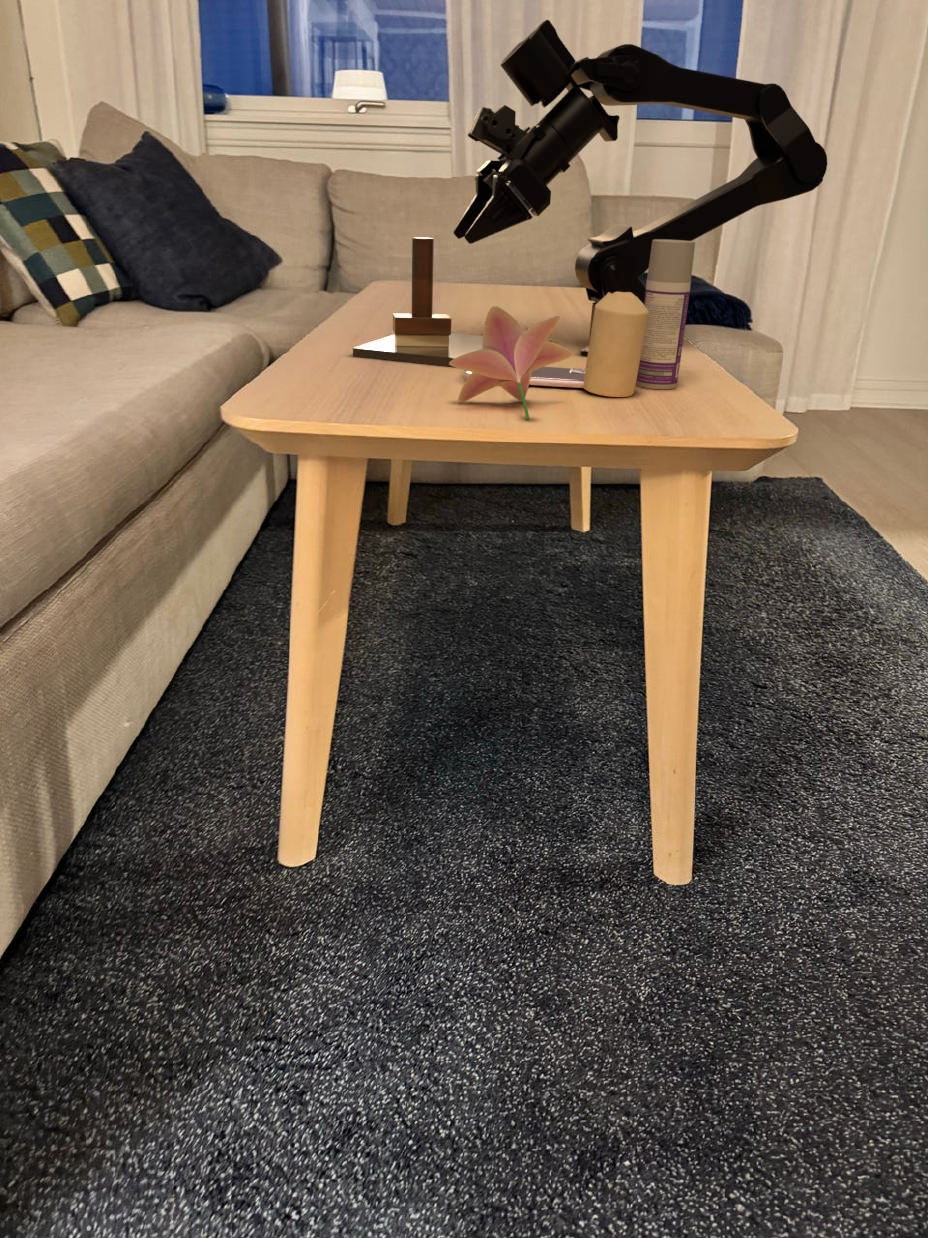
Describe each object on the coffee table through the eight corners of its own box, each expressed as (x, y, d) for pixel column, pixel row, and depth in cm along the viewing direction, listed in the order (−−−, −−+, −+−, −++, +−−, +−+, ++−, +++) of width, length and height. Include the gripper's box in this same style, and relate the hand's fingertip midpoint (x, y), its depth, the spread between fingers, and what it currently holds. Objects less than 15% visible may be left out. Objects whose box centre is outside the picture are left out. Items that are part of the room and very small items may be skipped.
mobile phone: (471, 360, 105) (600, 367, 104) (470, 368, 106) (600, 376, 104) (462, 372, 99) (601, 380, 97) (462, 381, 99) (600, 390, 98)
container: (650, 379, 105) (667, 238, 98) (685, 386, 102) (705, 241, 95) (626, 383, 102) (642, 239, 95) (661, 391, 99) (680, 242, 92)
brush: (392, 341, 116) (392, 236, 110) (447, 342, 117) (449, 237, 112) (395, 346, 113) (395, 237, 107) (450, 347, 114) (453, 239, 108)
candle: (632, 400, 95) (650, 300, 90) (580, 393, 95) (595, 293, 90) (634, 387, 99) (651, 292, 95) (584, 380, 100) (599, 285, 95)
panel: (410, 336, 127) (410, 328, 126) (513, 346, 122) (513, 338, 122) (352, 356, 111) (352, 347, 111) (467, 368, 107) (467, 359, 107)
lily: (587, 416, 91) (564, 323, 91) (586, 392, 80) (560, 286, 80) (472, 448, 93) (450, 357, 93) (455, 429, 81) (429, 325, 81)
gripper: (497, 87, 112) (407, 183, 115) (529, 73, 95) (423, 185, 99) (554, 161, 117) (466, 251, 120) (594, 160, 100) (491, 264, 103)
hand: (461, 238), depth 110 cm, fingers open, 9 cm apart
